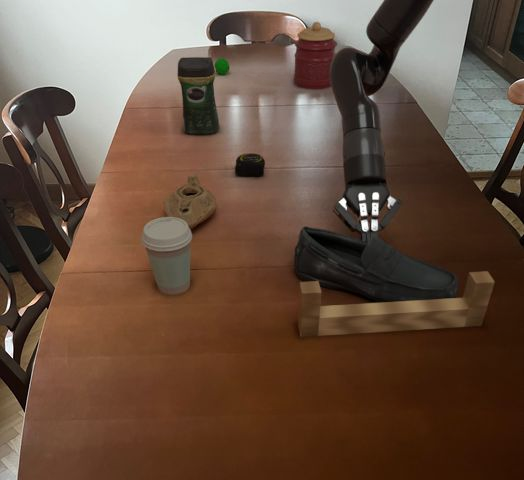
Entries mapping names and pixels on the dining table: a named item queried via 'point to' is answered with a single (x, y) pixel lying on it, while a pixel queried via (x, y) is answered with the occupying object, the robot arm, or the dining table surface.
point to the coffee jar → (198, 95)
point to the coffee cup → (169, 253)
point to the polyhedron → (222, 66)
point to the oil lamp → (190, 202)
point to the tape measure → (250, 165)
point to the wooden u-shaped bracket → (393, 311)
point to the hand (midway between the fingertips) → (370, 253)
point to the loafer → (369, 268)
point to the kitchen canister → (314, 57)
